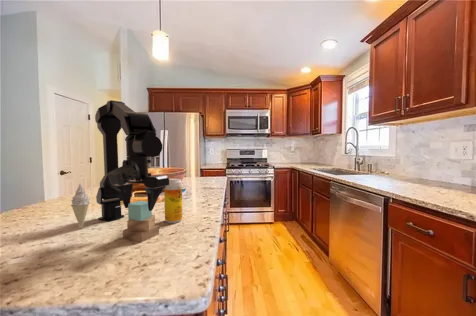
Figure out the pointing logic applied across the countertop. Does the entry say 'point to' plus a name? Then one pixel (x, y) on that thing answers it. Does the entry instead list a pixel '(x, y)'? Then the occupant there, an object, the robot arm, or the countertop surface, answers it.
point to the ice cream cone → (80, 205)
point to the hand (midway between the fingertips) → (138, 209)
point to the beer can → (173, 201)
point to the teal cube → (139, 211)
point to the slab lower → (141, 234)
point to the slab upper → (141, 224)
